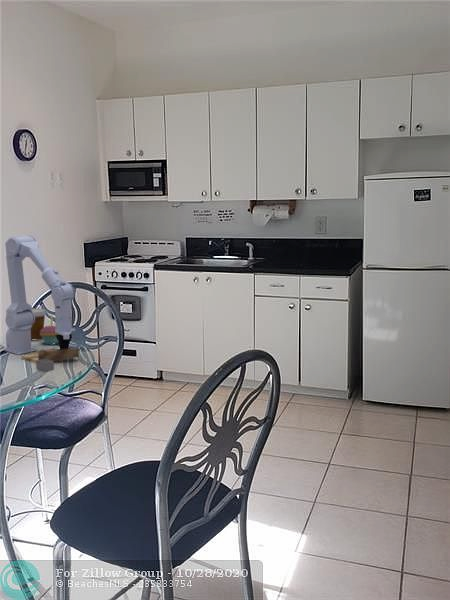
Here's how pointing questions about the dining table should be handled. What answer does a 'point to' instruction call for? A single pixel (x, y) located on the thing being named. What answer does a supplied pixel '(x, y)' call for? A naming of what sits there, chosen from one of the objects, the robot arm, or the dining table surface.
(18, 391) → the dining table surface
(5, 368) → the dining table surface
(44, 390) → the dining table surface
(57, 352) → the hinged leg
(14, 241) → the robot arm
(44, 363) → the stop block
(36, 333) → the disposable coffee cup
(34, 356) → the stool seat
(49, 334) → the cupcake
